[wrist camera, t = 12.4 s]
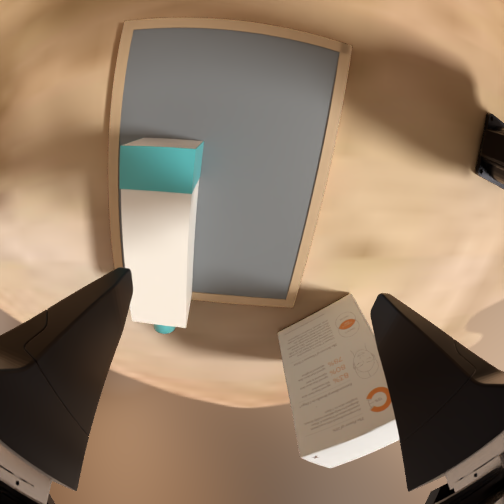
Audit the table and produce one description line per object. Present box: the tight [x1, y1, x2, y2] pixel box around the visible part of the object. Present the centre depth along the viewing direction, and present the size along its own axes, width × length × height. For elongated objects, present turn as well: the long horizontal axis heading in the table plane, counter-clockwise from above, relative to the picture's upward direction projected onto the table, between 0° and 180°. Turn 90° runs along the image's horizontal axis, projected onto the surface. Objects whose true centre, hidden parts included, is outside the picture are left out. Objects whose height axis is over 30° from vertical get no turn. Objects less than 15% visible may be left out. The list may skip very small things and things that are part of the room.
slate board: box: [108, 17, 352, 308], centre depth 18 cm, size 15×21×1 cm
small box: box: [277, 294, 400, 468], centre depth 21 cm, size 8×6×13 cm
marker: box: [120, 138, 204, 334], centre depth 18 cm, size 4×14×4 cm, turn 171°
